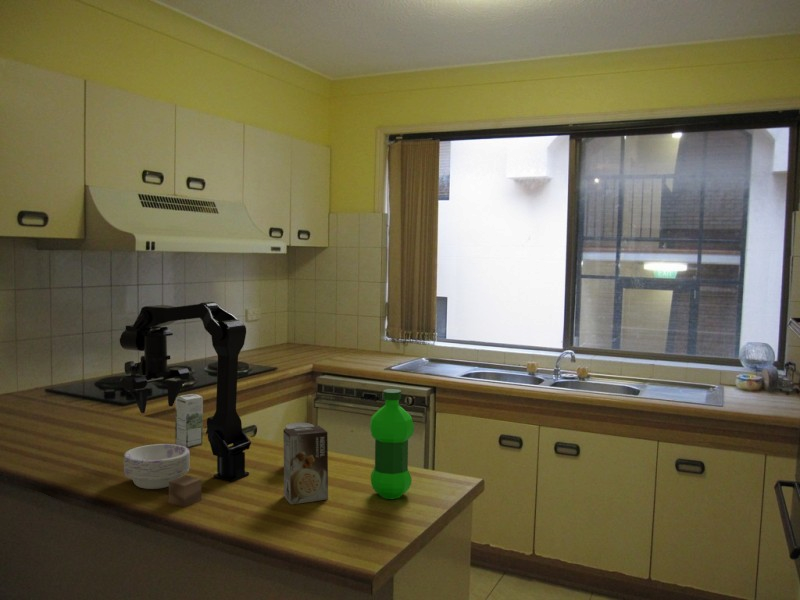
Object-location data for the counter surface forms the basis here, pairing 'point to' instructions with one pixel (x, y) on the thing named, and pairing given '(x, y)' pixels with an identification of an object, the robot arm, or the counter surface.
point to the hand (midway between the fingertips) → (156, 409)
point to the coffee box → (305, 464)
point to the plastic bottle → (391, 447)
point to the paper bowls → (156, 464)
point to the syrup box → (189, 420)
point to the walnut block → (184, 491)
